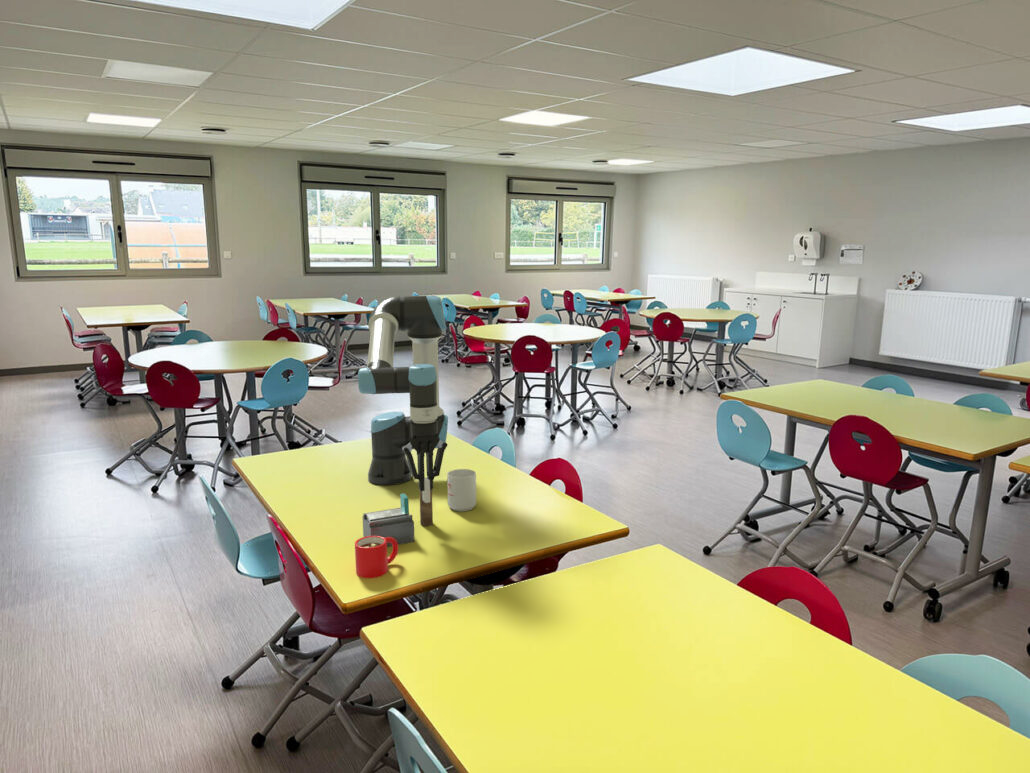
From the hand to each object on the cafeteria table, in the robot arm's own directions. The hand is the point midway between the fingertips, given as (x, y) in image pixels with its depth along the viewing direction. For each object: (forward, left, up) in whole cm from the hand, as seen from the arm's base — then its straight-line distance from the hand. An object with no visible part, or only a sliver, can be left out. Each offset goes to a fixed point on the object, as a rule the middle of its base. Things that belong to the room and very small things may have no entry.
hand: (426, 500), depth 199 cm
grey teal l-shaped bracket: (0, -11, -3) cm, 12 cm away
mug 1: (+17, -18, -10) cm, 27 cm away
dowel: (-6, +2, -9) cm, 11 cm away
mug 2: (-16, +16, -10) cm, 24 cm away
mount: (0, -11, -9) cm, 15 cm away
